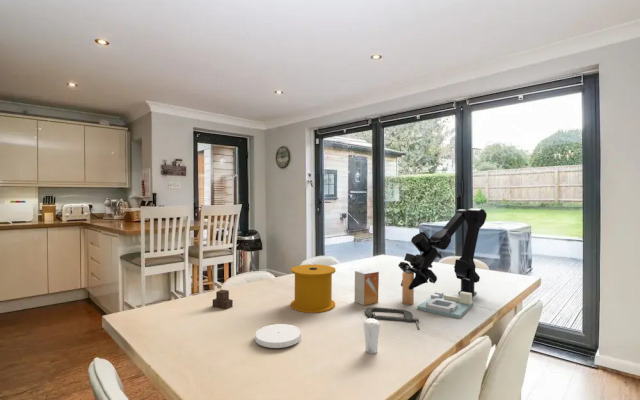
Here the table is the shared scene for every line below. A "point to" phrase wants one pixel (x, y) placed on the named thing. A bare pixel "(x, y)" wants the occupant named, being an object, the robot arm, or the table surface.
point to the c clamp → (406, 317)
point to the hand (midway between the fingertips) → (405, 287)
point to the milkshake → (371, 335)
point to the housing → (444, 306)
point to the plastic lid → (278, 335)
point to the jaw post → (407, 288)
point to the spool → (313, 288)
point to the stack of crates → (222, 300)
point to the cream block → (460, 298)
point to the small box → (366, 286)
